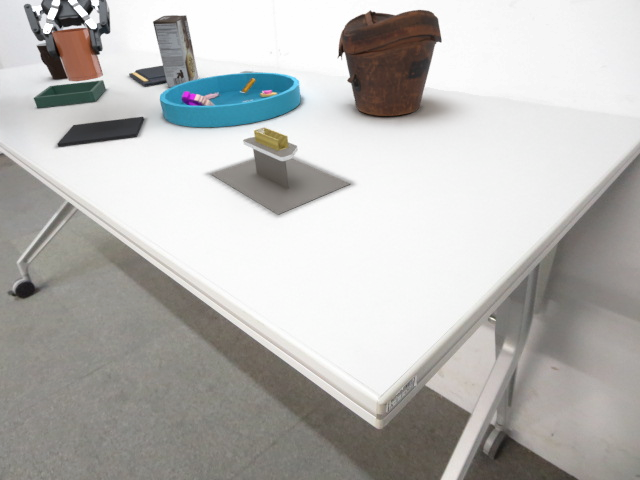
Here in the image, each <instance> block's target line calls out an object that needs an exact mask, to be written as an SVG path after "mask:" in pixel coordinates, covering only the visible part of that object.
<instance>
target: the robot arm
mask: <svg viewBox="0 0 640 480" xmlns="http://www.w3.org/2000/svg"><path fill="white" fill-rule="evenodd" d="M23 9H24V12H25V16H26V18H27V21H28V24H29V27H30V30H31V32H32V33H33V35H34V36H35V38H36V39H37V41H38V42H43V41H45V43H46V46H47V50H48V52H49V53H50V55H51V56H52V57H54V58H55V59H60V56H59V53H58V50H57V47H56V45H55V42H54V39H53V36H52V34H51V32H54V31H59V30H64V28H69V27H72V26H73V27H82V26H83V28H89V32H90V38H91V43H92V47H93V50H94V52H95V54H96V55H97V56H98V55H101V52H102V51H103V49H104V46H103V43H102V38H101V36H102V35H104V34H105V35H109V34H111V13H110V12H111V11H110V7H109V5H108V1H107V0H41V2H40V5H35V6H32V5H31V4H30V3H25V4H24V5H23ZM94 10H96V13H98V15H99V17H98V18H99V22H98V23H95V21H94V20H93V19H92V18H91V14H92V12H93V11H94ZM44 14H45V15H46V18H45V21H46V22H45V25H44V27H43V28H42V26H41V24H40V22H41V21H42V18H43V17H42V16H43V15H44Z"/></svg>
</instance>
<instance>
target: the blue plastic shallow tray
mask: <svg viewBox="0 0 640 480" xmlns="http://www.w3.org/2000/svg"><path fill="white" fill-rule="evenodd" d="M300 88H301V87H300V80H299V79H297V77H296V76H292V75H289V74H285V73H277V72H239V73H229V74H221V75H214V76H208V77H207V76H206V77H204V78H203V77H201V78H197V79H196V80H193V81H189V82H185V83H182V84H179V85H176V86H173V87H168V88H167V89H165V90H164V91H162V93H161V94H159V102H160V105H161V106H160V107H161V110H162V115H163V118H164V119H165V120H166V121H167V122H168V123H171V124H174V125H177V126H183V127H191V128H222V127H223V128H224V127H234V126H241V125H248V124H254V123H258V122H262V121H266V120H270V119H274V118H277V117H279V116H283V115H285V114H287V113H289V112H291V111H293V110H294V109H296V108H297V107H298V106H299V105H300V104H301V89H300Z"/></svg>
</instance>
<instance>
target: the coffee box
mask: <svg viewBox="0 0 640 480" xmlns="http://www.w3.org/2000/svg"><path fill="white" fill-rule="evenodd" d="M152 24H153V28H154V33H155V36H156V41H157V45H158V49H159V54H160V59H161V63H162V66H163V68H164V72H165V76H166V81H167V83H166V85H167V88H171V87H173V86H176V85H179V84H182V83H185V82H189V81H193V80H197V79H199V73H198V69H197V68H198V67H197V63H196V58H195V54H194V48H193V44H192V43H193V42H192V38H191V37H192V36H191V32H190V27H189V23H188V16H187V14H185V15H177V14H176V15H173V14H172V15H163V16H160V17H159V18H156V19H155V20H153V21H152Z"/></svg>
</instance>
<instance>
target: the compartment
mask: <svg viewBox="0 0 640 480" xmlns="http://www.w3.org/2000/svg"><path fill="white" fill-rule="evenodd" d="M106 90H107V89H106V85H105V82H104V80H103V79H100V80H91V81H81V82H74V83H73V82H72V83H64V84H55V85H49V86H48V87H46V88H45V89H44V90H42V91H41V92H40V93H38V94H37V95H36V96H34V97H33V101H34V103H35V105H36V106H35V107H36V108H37V109H43V108H51V107H60V106H62V107H63V106H71V105H79V104H86V103H87V104H88V103H96V102H97V101H98V100H99V98H100V97H101V96H102V95H103V94H104V93H105V92H106Z"/></svg>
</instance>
